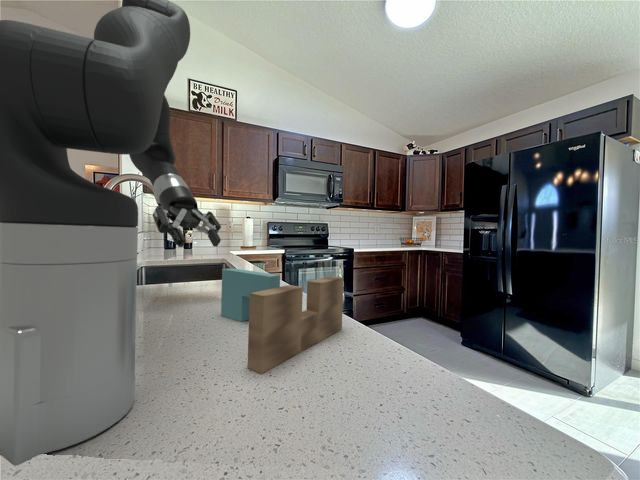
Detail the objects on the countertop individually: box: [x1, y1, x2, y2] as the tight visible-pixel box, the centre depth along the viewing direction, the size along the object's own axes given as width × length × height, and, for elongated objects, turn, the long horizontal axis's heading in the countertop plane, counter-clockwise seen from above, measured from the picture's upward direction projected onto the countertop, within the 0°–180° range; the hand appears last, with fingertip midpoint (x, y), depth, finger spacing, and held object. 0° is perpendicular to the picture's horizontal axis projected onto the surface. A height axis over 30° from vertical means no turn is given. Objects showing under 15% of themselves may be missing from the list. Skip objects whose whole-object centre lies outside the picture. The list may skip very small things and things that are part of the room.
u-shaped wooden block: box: [247, 275, 344, 375], centre depth 42 cm, size 20×2×10 cm, turn 146°
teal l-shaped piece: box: [220, 267, 281, 322], centre depth 53 cm, size 14×2×10 cm, turn 56°
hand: (201, 244), depth 61 cm, fingers open, 8 cm apart
